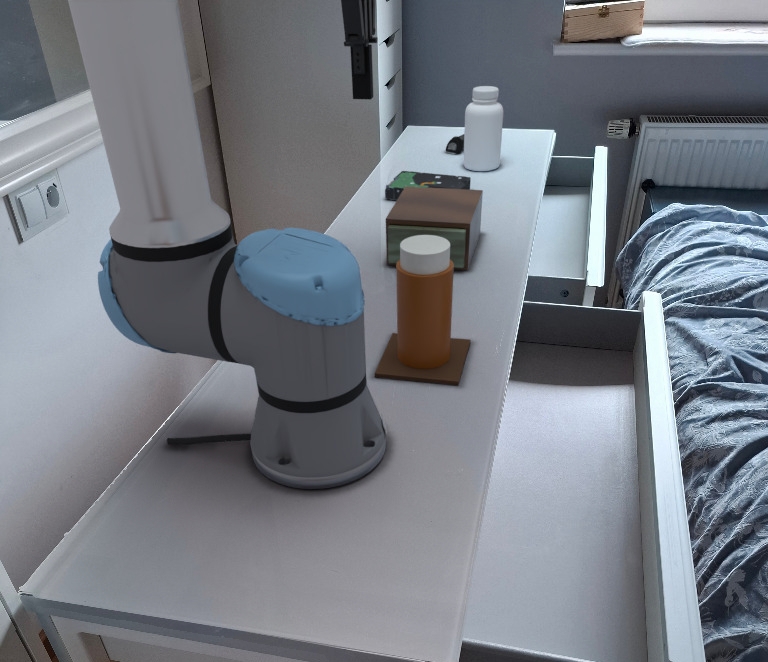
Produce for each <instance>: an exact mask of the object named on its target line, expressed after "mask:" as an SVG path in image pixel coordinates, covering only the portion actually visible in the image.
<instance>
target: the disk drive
mask: <svg viewBox="0 0 768 662" xmlns="http://www.w3.org/2000/svg"><path fill="white" fill-rule="evenodd" d="M405 187H425V188H446V189H467V190H471V177H470V176H465V175H451V174H441V173H432V172H431V173H430V172H420V171H410V170H409V171H408V170H401V172H399V173H398V174H397V175H396V176H394V177H393V180H391V181H390V182H389V183H388V184H386V185H385V189H384V198H385V199H388V200H391V201H397V199H398V198H399V196H400V194H401V193H402V191H403V190H404V188H405Z"/></svg>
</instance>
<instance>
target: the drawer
mask: <svg viewBox="0 0 768 662" xmlns="http://www.w3.org/2000/svg"><path fill="white" fill-rule="evenodd" d="M417 235H434V236H439V237H443V238H445V239H447V240H448V241H449V242H450V260H452V262H453V264H454V267H458V268H463V267H464V263H465V243H466V229H465V228H452V227H434V226H417V225H399V224H395V225H389V226H388V260H389V263H397V262H398V261H399V260H400V244H401V242H402V241H403V240H404V239H406V238H409V237H412V236H417Z"/></svg>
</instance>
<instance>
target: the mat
mask: <svg viewBox="0 0 768 662" xmlns="http://www.w3.org/2000/svg"><path fill="white" fill-rule="evenodd" d="M470 345H471V339H467V338H455V337H451V345H450V358H449V360H448V361H447V362H446V363H445V364H443V365H441V366H439V367H436V368H431V369H417V368H412V367H409V366H406V365H404V364H403V363H401V362H400V360H399V359H398V342H397V332H392V334H391V336H390V337H389V340H388V342H387V345H386V347H385V348H384V352H383V354H382V356H381V358H380V360H379V362H378V365H377V367H376V369H375V371H374V378H378V379H388V380H389V379H390V380H400V381H411V382H419V383H429V384H439V385H450V386H459V384H460V382H461V378H462V375H463V371H464V367H465V363H466V359H467V356H468V353H469V350H470V349H469V348H470Z"/></svg>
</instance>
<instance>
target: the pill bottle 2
mask: <svg viewBox="0 0 768 662" xmlns="http://www.w3.org/2000/svg"><path fill="white" fill-rule="evenodd" d="M499 94H500V89H499V88H498V87H497V86H494V85H493V86H491V85H479V86H475V87H473V89H472V98H471V101H472V102H470V103H469V104H468V105H467V106H466V108H465V111H464V133H463V134H464V148H463V161H462V162H463V167H464V168H465V169H467V170H470V171H474V172H488V171H493V170H496V169H498V168H499V167H500V164H501V153H502V138H503V122H504V107H503V105H502V104H501V103H500V102H498V100H499Z"/></svg>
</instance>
